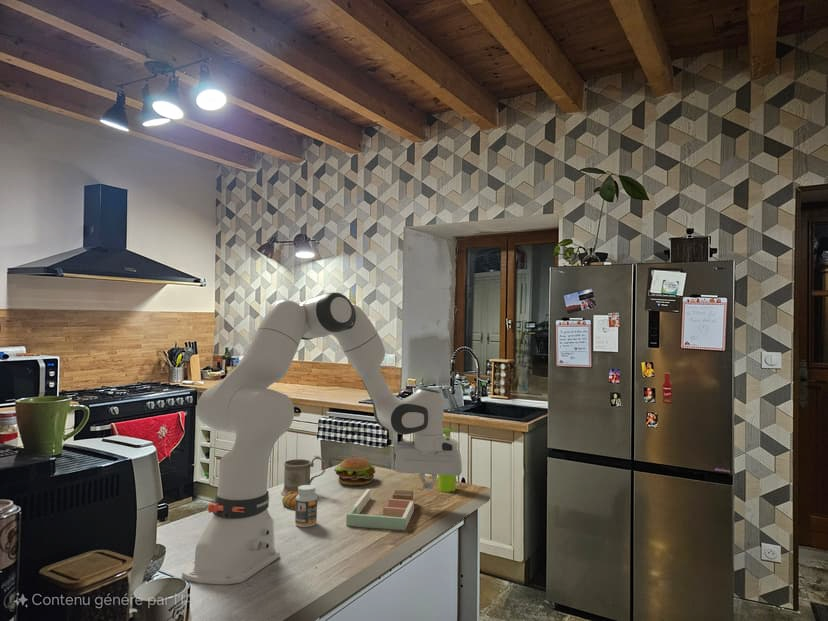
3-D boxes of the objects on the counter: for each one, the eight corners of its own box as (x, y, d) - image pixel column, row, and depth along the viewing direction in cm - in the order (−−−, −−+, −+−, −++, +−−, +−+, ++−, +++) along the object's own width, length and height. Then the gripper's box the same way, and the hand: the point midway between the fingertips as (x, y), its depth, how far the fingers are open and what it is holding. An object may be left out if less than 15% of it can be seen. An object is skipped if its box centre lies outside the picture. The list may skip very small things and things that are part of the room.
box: (404, 530, 148) (405, 518, 148) (346, 525, 151) (346, 514, 151) (417, 502, 172) (418, 492, 172) (367, 498, 174) (367, 488, 174)
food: (346, 474, 202) (346, 452, 203) (380, 479, 197) (381, 456, 197) (325, 483, 190) (326, 460, 190) (362, 489, 184) (363, 465, 185)
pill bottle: (311, 528, 148) (312, 491, 148) (291, 526, 149) (292, 489, 149) (319, 521, 153) (320, 485, 154) (300, 519, 155) (301, 483, 155)
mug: (275, 496, 175) (276, 457, 175) (288, 487, 185) (289, 450, 185) (319, 499, 172) (320, 460, 173) (330, 490, 182) (331, 453, 182)
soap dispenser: (432, 488, 187) (433, 428, 187) (450, 486, 190) (451, 426, 190) (440, 493, 181) (441, 431, 182) (458, 490, 184) (459, 430, 185)
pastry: (317, 508, 165) (317, 495, 165) (298, 514, 160) (298, 500, 160) (298, 501, 171) (298, 488, 171) (279, 506, 166) (279, 493, 166)
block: (410, 509, 165) (411, 495, 166) (392, 508, 166) (392, 494, 166) (412, 503, 171) (413, 490, 171) (395, 502, 172) (395, 489, 172)
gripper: (392, 442, 167) (392, 489, 166) (461, 446, 164) (460, 493, 163) (396, 438, 173) (395, 483, 173) (462, 441, 170) (462, 487, 170)
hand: (428, 488), depth 168 cm, fingers closed
